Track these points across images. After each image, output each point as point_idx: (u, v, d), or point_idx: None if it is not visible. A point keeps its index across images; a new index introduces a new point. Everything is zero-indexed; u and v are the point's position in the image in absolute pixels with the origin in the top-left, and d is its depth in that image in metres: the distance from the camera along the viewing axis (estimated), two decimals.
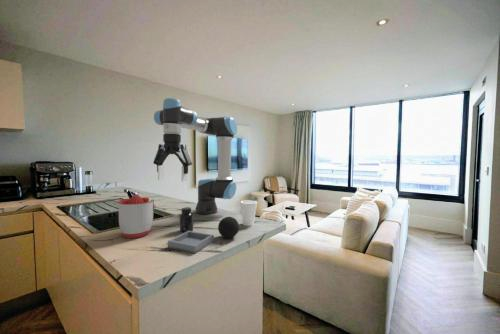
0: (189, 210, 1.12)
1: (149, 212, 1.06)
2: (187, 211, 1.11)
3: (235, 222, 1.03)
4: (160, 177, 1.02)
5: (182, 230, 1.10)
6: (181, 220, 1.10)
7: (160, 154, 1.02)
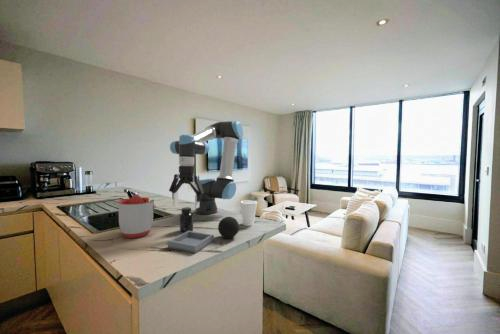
0: (189, 210, 1.12)
1: (149, 212, 1.06)
2: (187, 211, 1.11)
3: (235, 222, 1.03)
4: (175, 203, 1.14)
5: (182, 230, 1.10)
6: (181, 220, 1.10)
7: (175, 183, 1.15)
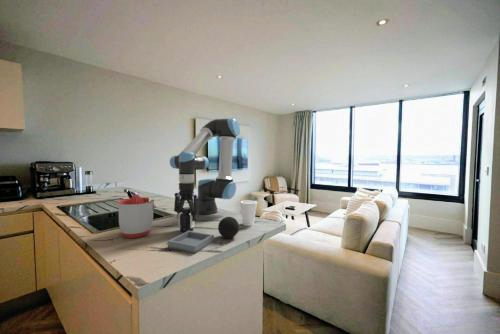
0: (189, 210, 1.12)
1: (149, 212, 1.06)
2: (187, 211, 1.11)
3: (235, 222, 1.03)
4: None
5: (182, 230, 1.10)
6: (181, 220, 1.10)
7: (178, 201, 1.15)
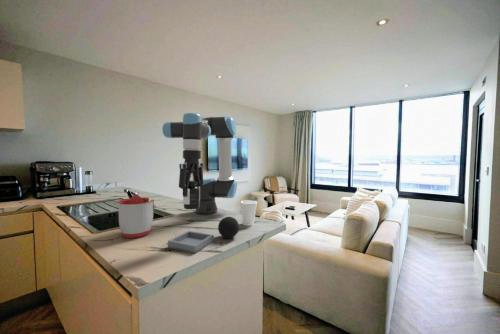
0: None
1: (149, 212, 1.06)
2: None
3: (235, 222, 1.03)
4: None
5: None
6: None
7: (199, 173, 1.00)
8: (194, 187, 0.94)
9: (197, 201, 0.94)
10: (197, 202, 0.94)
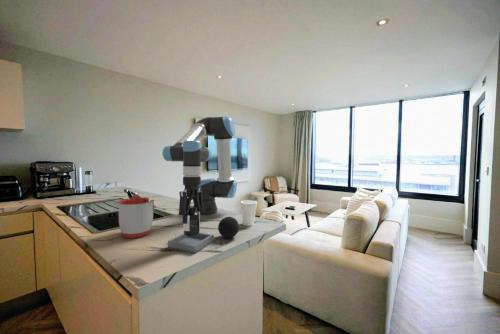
0: None
1: (149, 212, 1.06)
2: None
3: (235, 222, 1.03)
4: None
5: None
6: None
7: (199, 198, 1.01)
8: (194, 213, 0.94)
9: (197, 227, 0.95)
10: (197, 228, 0.95)
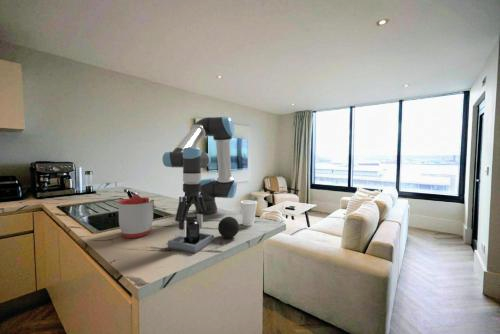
0: (187, 218, 0.94)
1: (149, 212, 1.06)
2: (186, 218, 0.95)
3: (235, 222, 1.03)
4: None
5: None
6: None
7: (200, 202, 1.02)
8: (194, 223, 0.94)
9: (197, 236, 0.95)
10: (197, 237, 0.95)
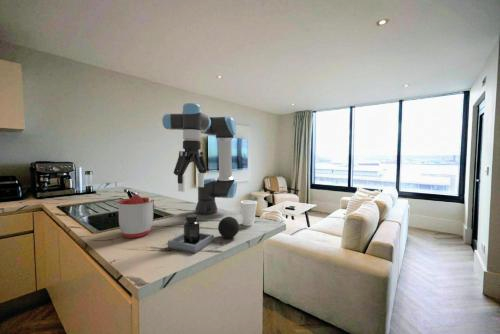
0: (187, 218, 0.94)
1: (149, 212, 1.06)
2: (186, 219, 0.95)
3: (235, 222, 1.03)
4: (199, 185, 1.02)
5: None
6: None
7: (201, 161, 1.01)
8: (194, 223, 0.94)
9: (197, 236, 0.95)
10: (197, 237, 0.95)
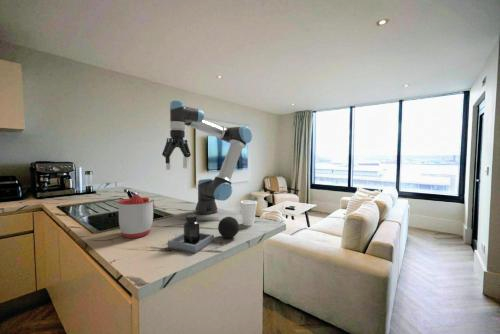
0: (187, 218, 0.94)
1: (149, 212, 1.06)
2: (186, 219, 0.95)
3: (235, 222, 1.03)
4: (184, 166, 1.26)
5: None
6: None
7: (185, 148, 1.26)
8: (194, 223, 0.94)
9: (197, 236, 0.95)
10: (197, 237, 0.95)
